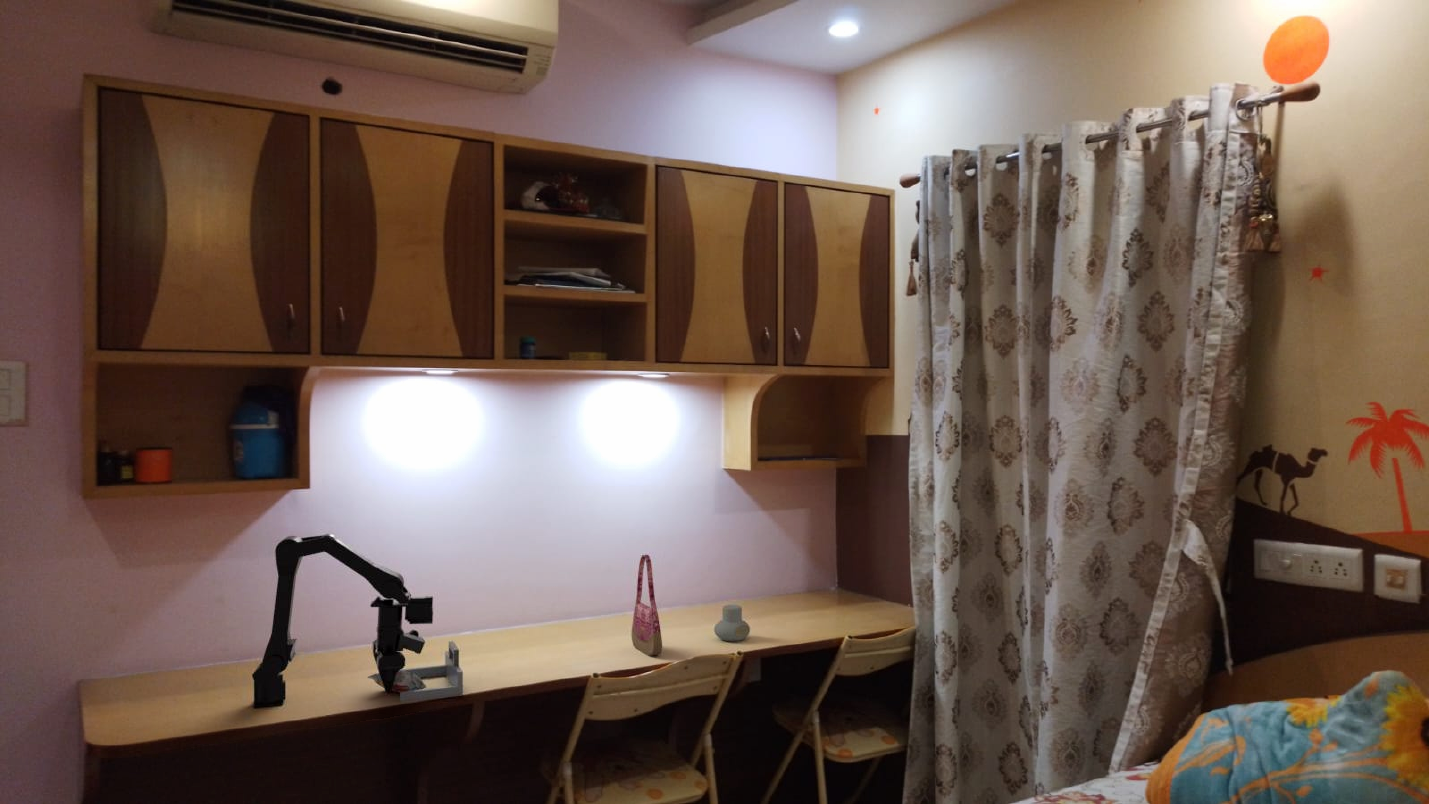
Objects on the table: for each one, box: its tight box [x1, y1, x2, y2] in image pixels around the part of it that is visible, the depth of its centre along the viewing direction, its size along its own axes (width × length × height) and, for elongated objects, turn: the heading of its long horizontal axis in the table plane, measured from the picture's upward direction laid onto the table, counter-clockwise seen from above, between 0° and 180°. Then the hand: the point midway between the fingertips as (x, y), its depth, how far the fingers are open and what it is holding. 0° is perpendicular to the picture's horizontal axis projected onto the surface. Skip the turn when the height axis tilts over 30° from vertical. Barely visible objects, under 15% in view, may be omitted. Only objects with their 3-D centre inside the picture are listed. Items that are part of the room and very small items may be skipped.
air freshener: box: [713, 604, 751, 643], centre depth 291 cm, size 11×8×10 cm
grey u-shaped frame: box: [399, 640, 464, 704], centre depth 241 cm, size 15×21×10 cm
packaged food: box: [367, 670, 427, 693], centre depth 236 cm, size 9×12×5 cm
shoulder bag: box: [631, 554, 663, 657], centre depth 277 cm, size 17×3×28 cm, turn 27°
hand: (386, 687), depth 236 cm, fingers open, 9 cm apart
